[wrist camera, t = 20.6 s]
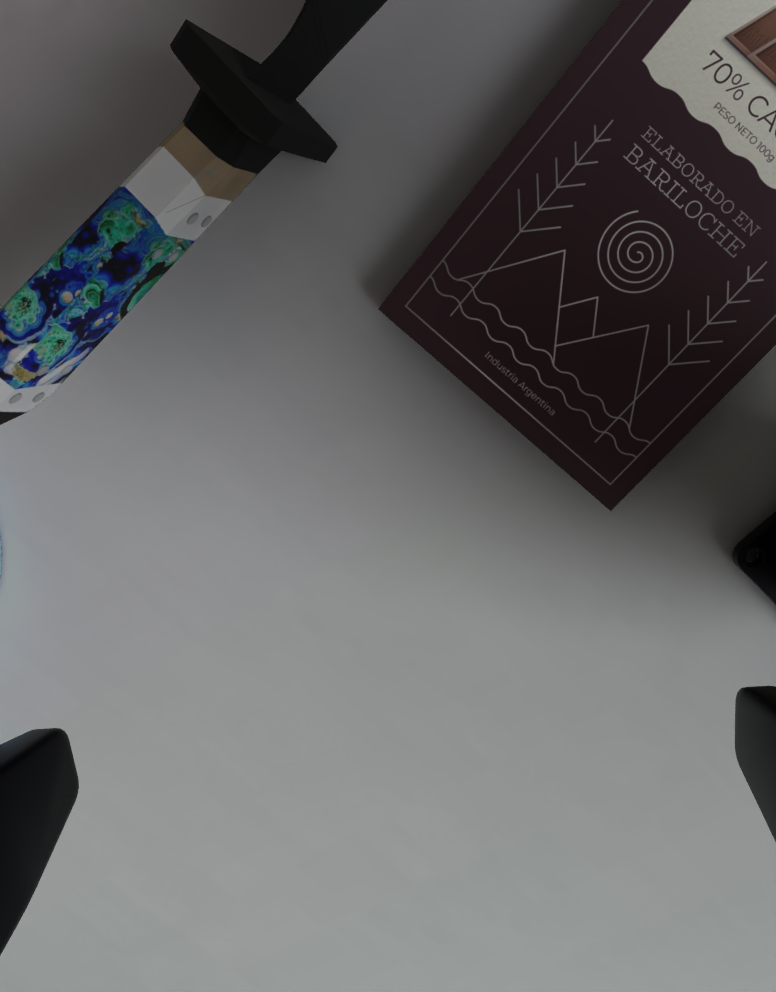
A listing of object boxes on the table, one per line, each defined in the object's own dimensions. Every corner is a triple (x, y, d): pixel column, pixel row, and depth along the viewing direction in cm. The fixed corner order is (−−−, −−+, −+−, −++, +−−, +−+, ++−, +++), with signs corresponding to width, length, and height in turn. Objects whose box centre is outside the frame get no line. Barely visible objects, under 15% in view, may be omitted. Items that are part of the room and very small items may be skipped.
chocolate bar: (378, 308, 19) (896, -345, 14) (382, 310, 20) (871, -304, 15) (610, 510, 19) (1176, -60, 15) (604, 503, 20) (1135, -37, 16)
